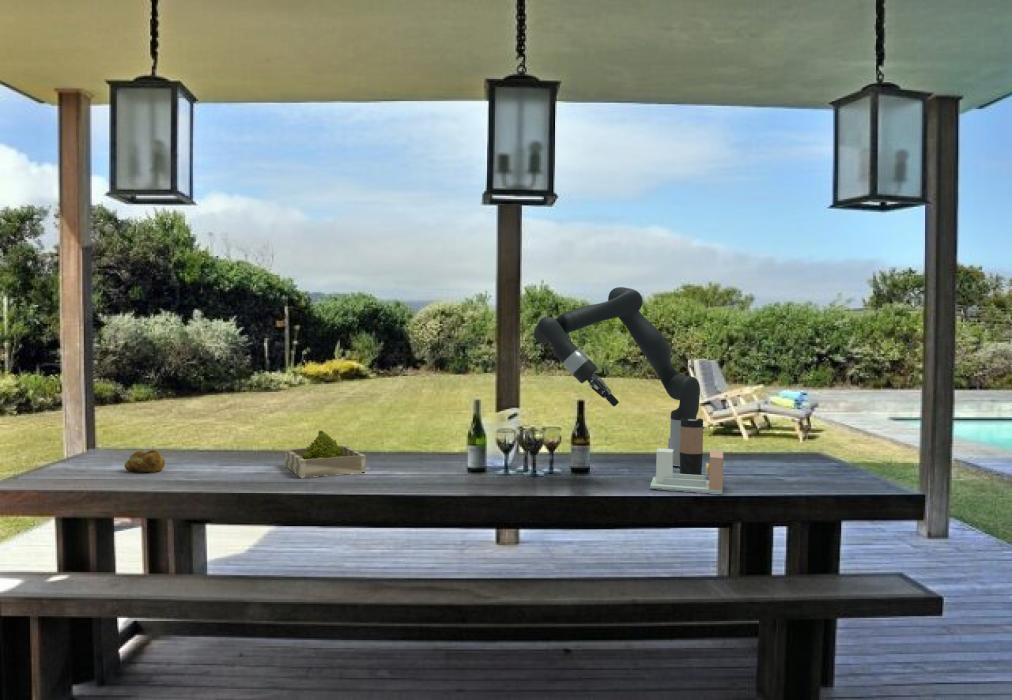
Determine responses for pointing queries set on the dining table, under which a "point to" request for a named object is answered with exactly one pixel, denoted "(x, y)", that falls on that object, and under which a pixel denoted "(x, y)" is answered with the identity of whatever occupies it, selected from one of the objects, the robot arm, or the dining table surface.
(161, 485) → the dining table surface
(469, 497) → the dining table surface
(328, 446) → the vegetable
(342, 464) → the veg crate
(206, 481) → the dining table surface
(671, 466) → the white rectangular block
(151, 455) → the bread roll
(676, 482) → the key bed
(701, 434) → the travel mug
